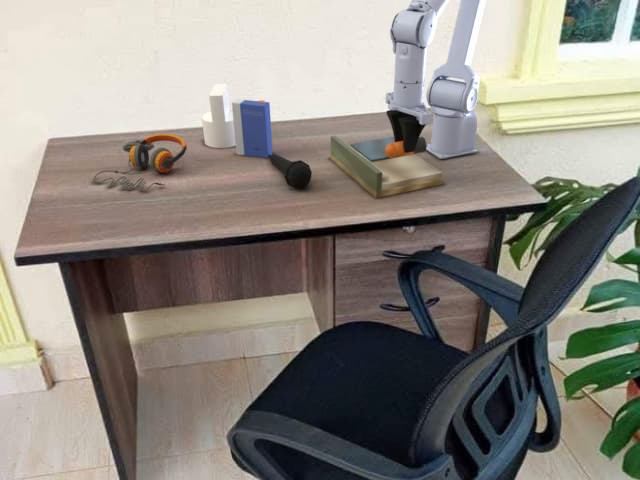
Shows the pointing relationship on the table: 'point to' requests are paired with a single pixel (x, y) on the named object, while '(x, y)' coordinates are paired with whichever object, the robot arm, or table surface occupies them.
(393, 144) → the orange capsule container
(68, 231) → the table surface
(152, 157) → the headphones
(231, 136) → the base with upright slab
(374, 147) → the bed
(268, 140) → the walkman
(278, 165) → the microphone
